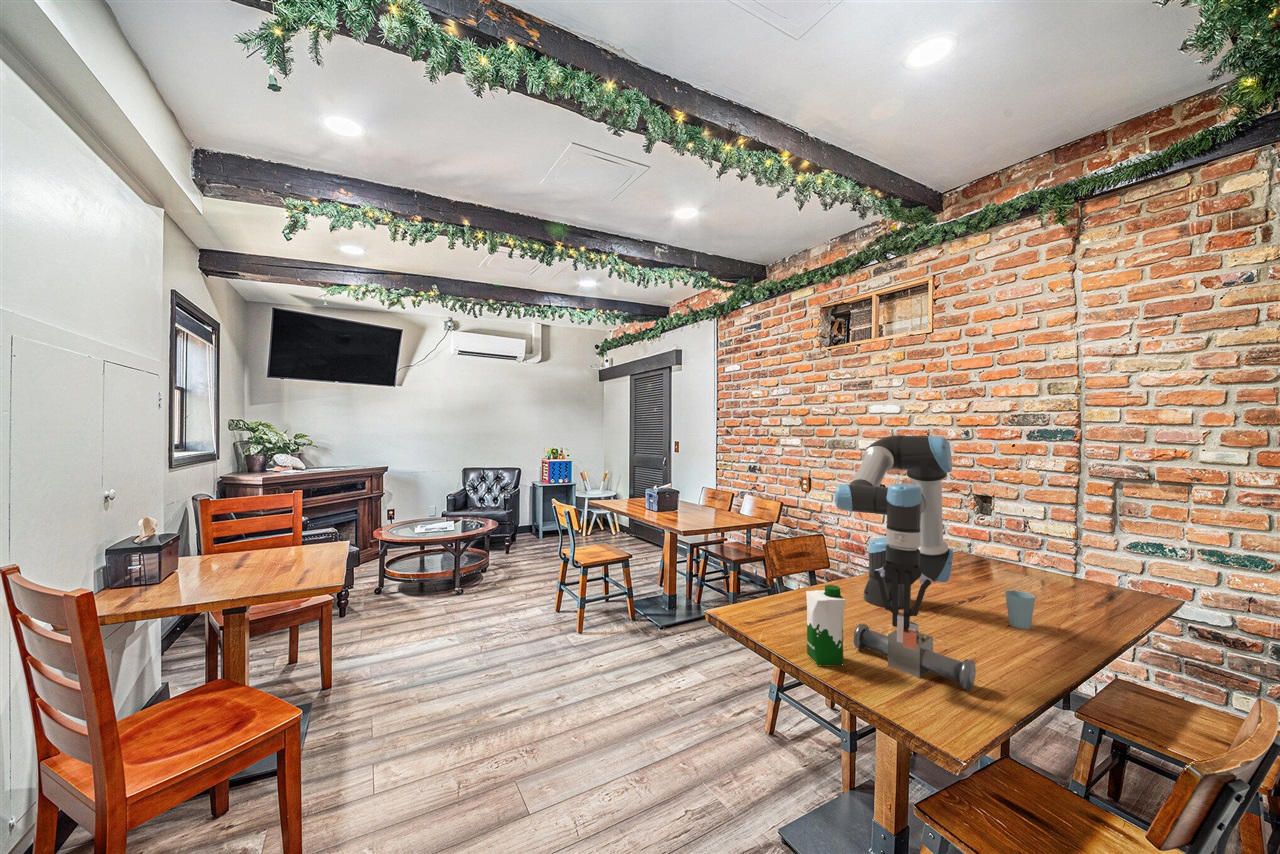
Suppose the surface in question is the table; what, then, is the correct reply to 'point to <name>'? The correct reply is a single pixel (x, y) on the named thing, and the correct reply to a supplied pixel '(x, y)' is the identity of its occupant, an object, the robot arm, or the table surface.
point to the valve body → (916, 656)
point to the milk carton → (825, 625)
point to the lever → (910, 636)
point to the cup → (1020, 608)
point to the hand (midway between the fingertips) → (900, 640)
